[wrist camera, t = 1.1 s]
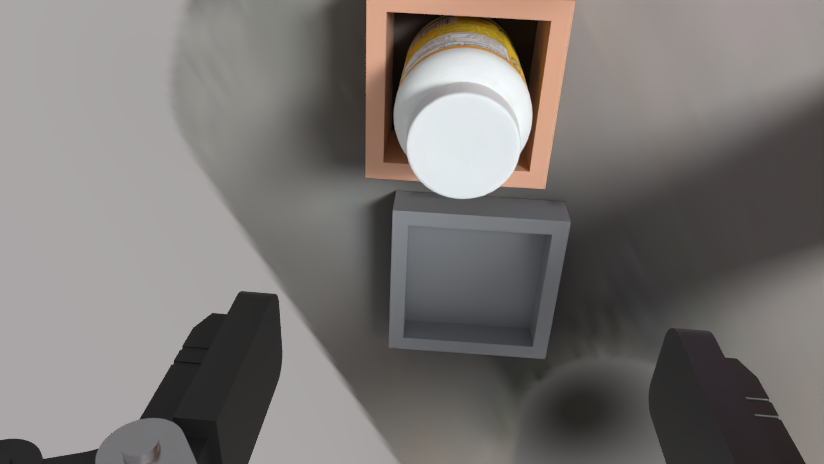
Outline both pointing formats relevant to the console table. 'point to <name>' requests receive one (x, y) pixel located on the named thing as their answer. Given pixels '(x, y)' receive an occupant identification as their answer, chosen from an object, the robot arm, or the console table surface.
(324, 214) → the console table surface
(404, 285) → the tray
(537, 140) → the holder cup
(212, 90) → the console table surface
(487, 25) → the supplement bottle
